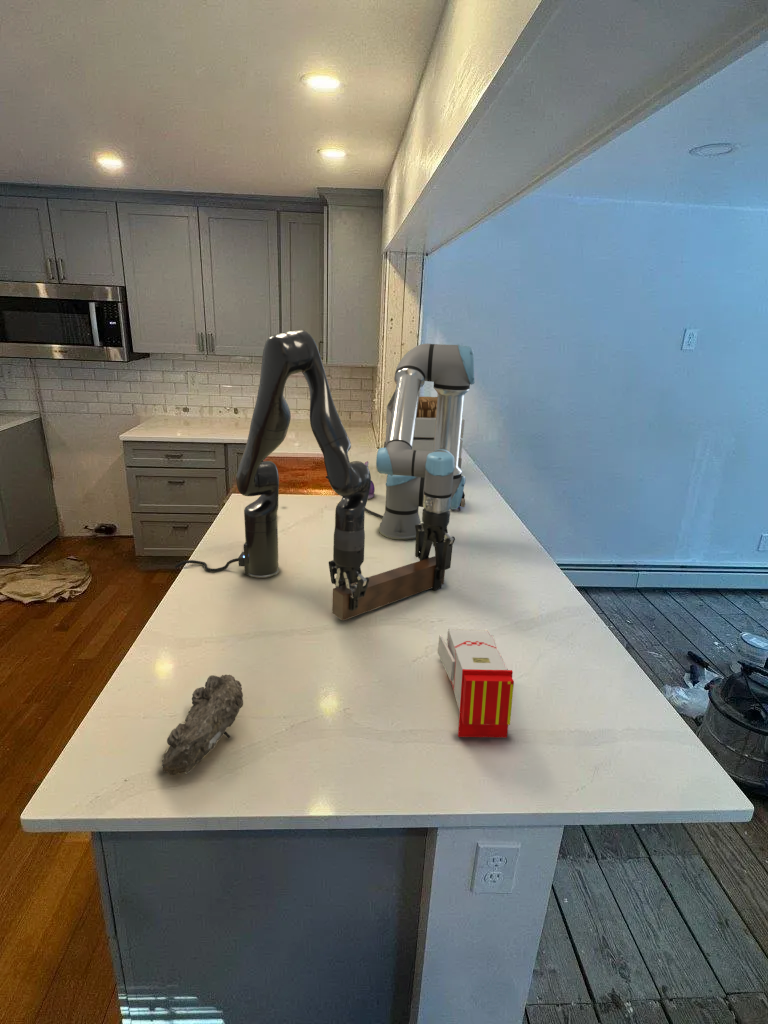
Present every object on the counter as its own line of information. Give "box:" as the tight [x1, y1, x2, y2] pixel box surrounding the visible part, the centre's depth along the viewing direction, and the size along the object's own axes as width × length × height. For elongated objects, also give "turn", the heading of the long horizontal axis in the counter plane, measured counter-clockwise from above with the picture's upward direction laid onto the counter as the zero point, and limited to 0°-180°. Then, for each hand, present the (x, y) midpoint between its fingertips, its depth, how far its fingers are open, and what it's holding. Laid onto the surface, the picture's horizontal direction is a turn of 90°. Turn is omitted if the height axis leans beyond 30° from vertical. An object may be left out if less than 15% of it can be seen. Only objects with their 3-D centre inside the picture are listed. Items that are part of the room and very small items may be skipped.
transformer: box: [383, 389, 465, 470], centre depth 268 cm, size 34×33×41 cm
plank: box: [331, 555, 446, 621], centre depth 152 cm, size 36×4×7 cm, turn 130°
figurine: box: [364, 460, 376, 500], centre depth 234 cm, size 9×10×15 cm
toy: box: [437, 628, 515, 738], centre depth 117 cm, size 12×13×30 cm
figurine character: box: [451, 490, 466, 511], centre depth 229 cm, size 7×8×15 cm
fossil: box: [161, 674, 244, 776], centre depth 102 cm, size 22×10×15 cm
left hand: (347, 605), depth 143 cm, fingers closed on plank, 4 cm apart
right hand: (430, 585), depth 163 cm, fingers closed on plank, 4 cm apart
